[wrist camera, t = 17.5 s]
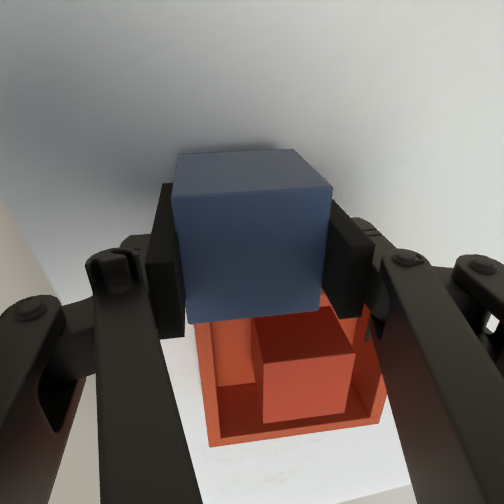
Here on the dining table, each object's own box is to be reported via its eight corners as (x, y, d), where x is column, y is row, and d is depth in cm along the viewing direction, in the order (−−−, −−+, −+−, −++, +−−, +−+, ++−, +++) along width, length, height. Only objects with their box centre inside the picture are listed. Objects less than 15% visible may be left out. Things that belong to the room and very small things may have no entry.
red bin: (192, 258, 20) (191, 307, 16) (378, 243, 22) (418, 285, 18) (207, 388, 26) (209, 448, 22) (352, 371, 27) (379, 423, 24)
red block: (250, 303, 22) (263, 364, 18) (326, 296, 22) (356, 353, 18) (251, 359, 24) (262, 424, 20) (319, 351, 25) (344, 413, 21)
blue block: (176, 153, 14) (170, 196, 10) (293, 148, 15) (334, 186, 11) (189, 256, 17) (188, 325, 13) (288, 248, 17) (319, 311, 13)
